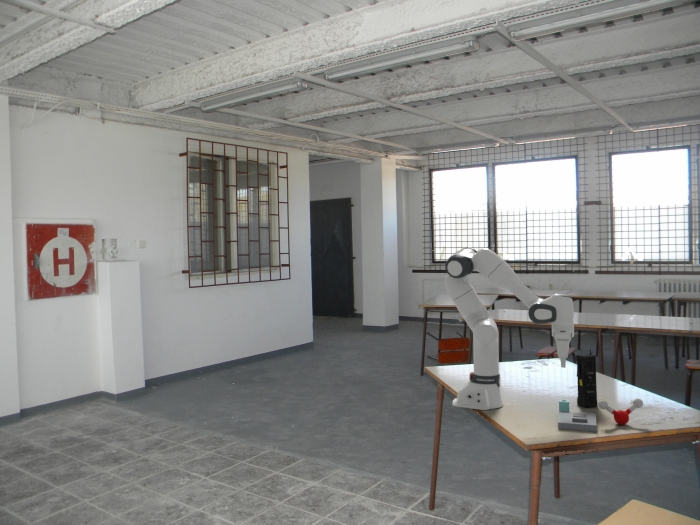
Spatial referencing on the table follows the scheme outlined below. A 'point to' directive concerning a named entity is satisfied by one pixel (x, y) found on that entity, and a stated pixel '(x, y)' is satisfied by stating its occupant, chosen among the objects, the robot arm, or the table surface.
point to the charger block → (564, 405)
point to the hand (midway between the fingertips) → (563, 364)
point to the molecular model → (620, 415)
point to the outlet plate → (577, 421)
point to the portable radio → (586, 380)
